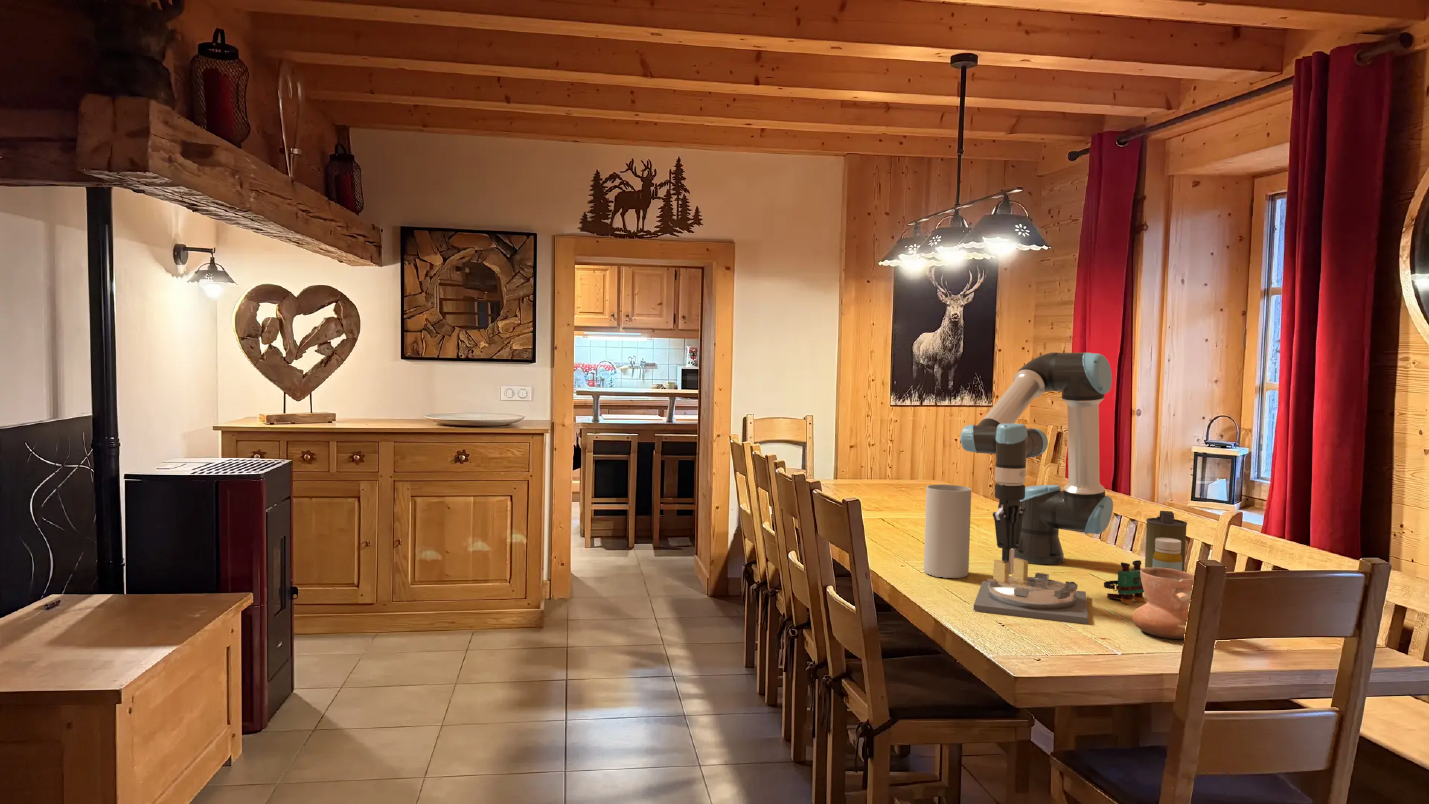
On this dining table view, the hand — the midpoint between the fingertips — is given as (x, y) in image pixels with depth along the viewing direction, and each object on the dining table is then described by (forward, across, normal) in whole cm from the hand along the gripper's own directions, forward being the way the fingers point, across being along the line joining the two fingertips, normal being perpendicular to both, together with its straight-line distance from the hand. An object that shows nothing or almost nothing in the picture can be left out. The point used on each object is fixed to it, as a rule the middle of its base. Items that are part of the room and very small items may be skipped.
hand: (1007, 573), depth 234 cm
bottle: (+7, +35, -27) cm, 45 cm away
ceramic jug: (+7, 0, -39) cm, 40 cm away
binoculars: (+7, +22, -21) cm, 31 cm away
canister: (+7, +51, -20) cm, 55 cm away
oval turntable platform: (+5, -1, -7) cm, 9 cm away
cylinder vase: (+7, +10, +24) cm, 27 cm away
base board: (+6, -1, -7) cm, 10 cm away
